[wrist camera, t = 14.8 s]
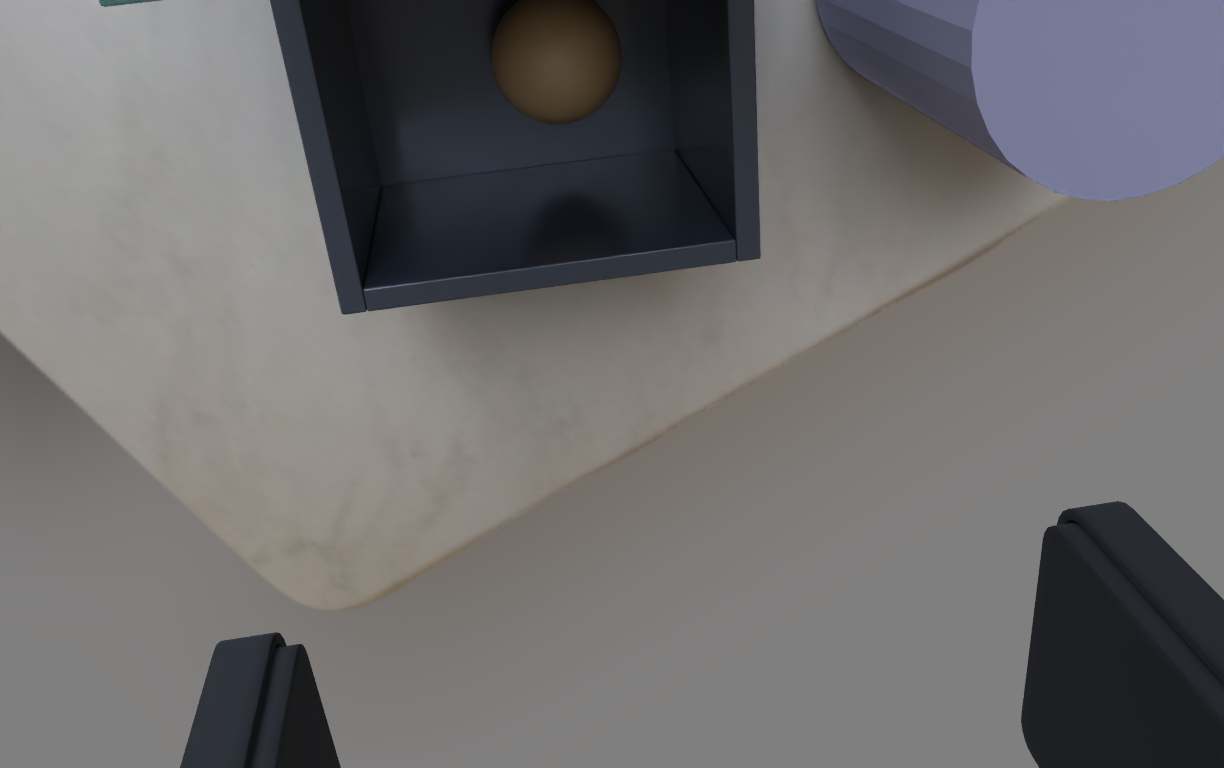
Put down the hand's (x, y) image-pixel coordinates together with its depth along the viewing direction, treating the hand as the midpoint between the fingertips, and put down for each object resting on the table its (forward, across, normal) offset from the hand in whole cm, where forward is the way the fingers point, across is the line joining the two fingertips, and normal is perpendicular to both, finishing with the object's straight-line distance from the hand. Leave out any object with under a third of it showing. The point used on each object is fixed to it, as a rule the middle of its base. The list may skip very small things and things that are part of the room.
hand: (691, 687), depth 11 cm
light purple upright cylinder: (+36, -17, -1) cm, 40 cm away
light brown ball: (+33, -1, 0) cm, 33 cm away
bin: (+36, 0, -1) cm, 36 cm away
